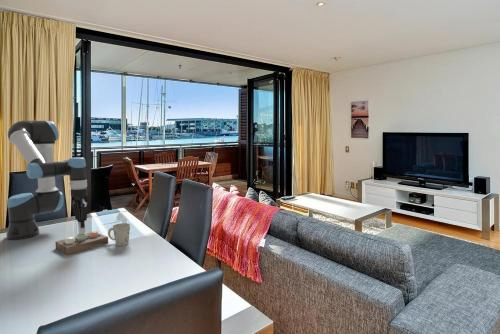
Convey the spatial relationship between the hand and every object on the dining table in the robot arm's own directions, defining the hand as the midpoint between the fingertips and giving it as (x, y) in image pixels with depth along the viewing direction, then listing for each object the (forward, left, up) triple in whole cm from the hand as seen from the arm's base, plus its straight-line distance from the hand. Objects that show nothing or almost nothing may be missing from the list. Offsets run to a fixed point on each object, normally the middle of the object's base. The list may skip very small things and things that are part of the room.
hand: (82, 233), depth 164 cm
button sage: (0, 0, -4) cm, 4 cm away
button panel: (0, 0, -7) cm, 7 cm away
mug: (+12, +13, -7) cm, 19 cm away
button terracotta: (0, +6, -5) cm, 8 cm away
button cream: (0, -6, -5) cm, 8 cm away
